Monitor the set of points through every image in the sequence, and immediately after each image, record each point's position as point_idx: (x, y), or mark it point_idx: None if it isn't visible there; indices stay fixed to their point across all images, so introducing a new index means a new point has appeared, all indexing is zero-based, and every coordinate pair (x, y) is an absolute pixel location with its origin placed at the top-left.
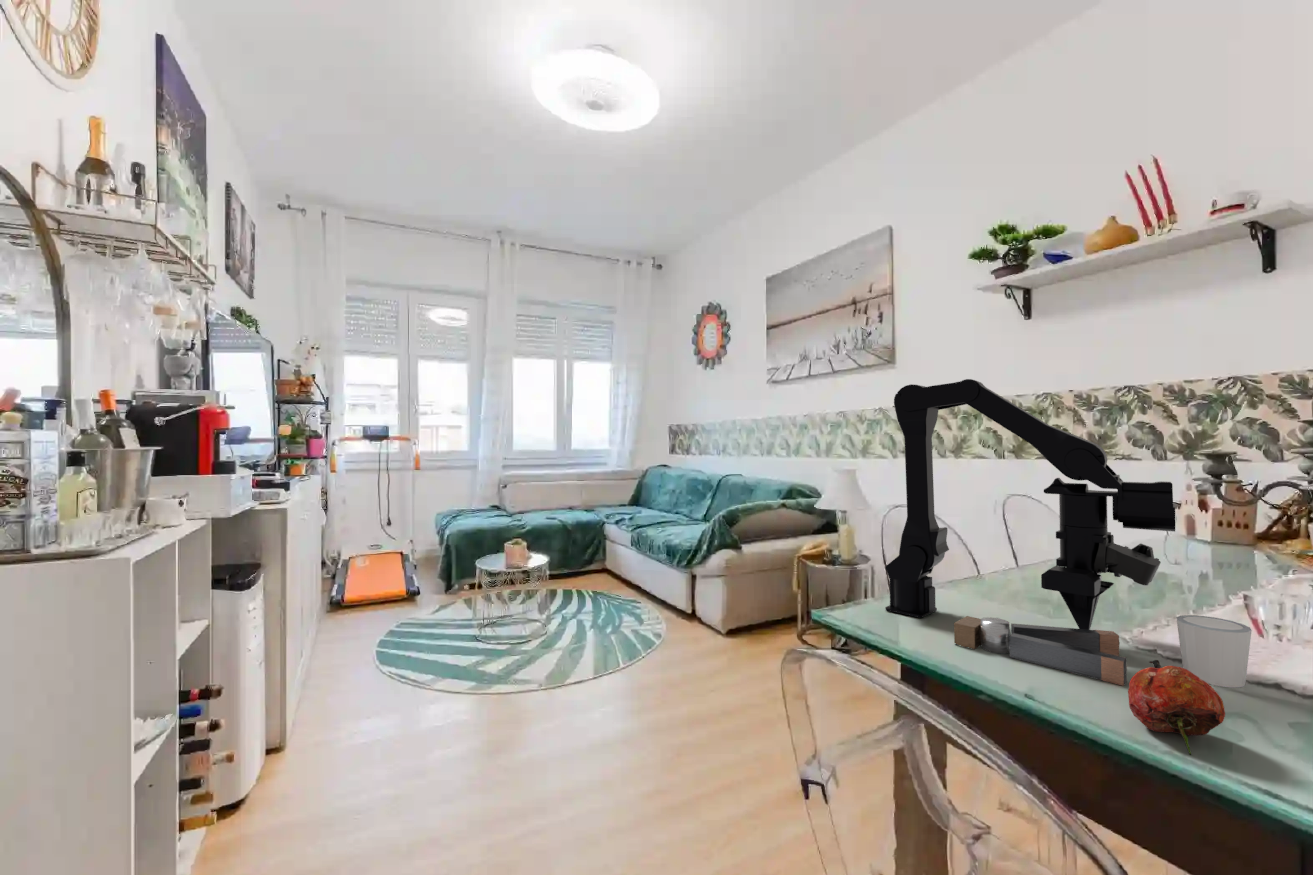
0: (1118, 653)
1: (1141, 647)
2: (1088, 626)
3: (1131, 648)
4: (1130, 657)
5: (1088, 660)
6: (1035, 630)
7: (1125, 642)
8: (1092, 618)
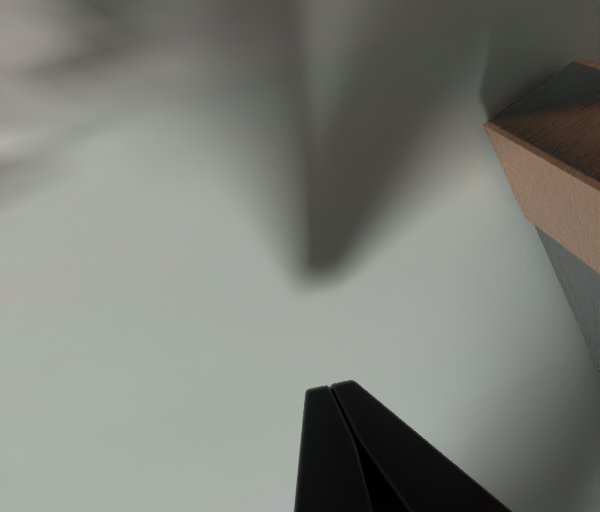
0: (598, 70)
1: (36, 28)
2: (377, 404)
3: (166, 83)
4: (447, 11)
5: None
6: None
7: (15, 177)
8: (328, 462)
